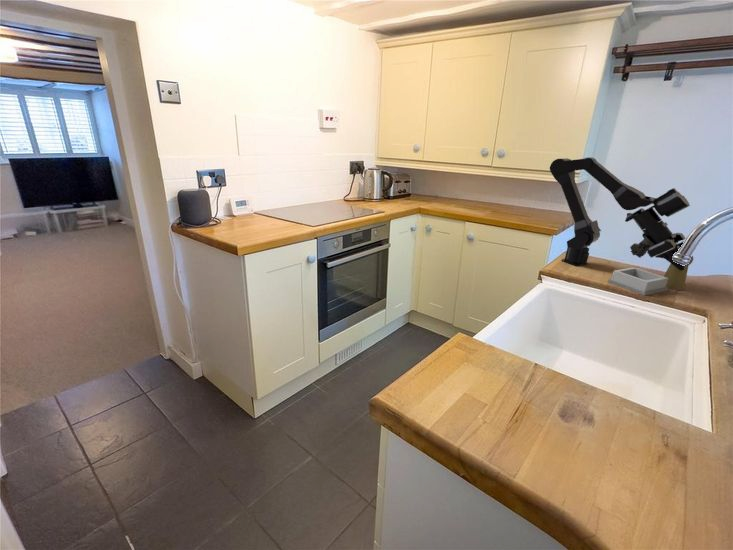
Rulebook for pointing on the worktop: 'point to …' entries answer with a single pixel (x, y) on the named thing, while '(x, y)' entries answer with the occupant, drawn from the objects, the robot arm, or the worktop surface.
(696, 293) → the worktop surface
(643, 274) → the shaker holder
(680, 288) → the cork
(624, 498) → the worktop surface
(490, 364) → the worktop surface
